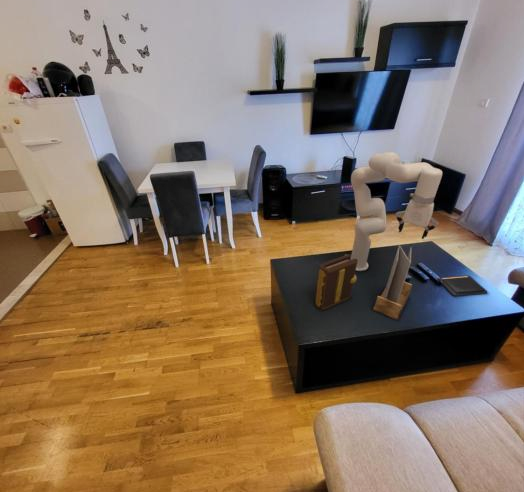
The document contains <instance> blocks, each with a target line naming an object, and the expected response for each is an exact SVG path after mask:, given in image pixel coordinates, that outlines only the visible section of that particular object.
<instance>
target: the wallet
mask: <svg viewBox="0 0 524 492" xmlns="http://www.w3.org/2000/svg"><path fill="white" fill-rule="evenodd" d="M436 279H437V281H438V282H439V283H440V285H442V286H443V287H444V289H445V290H447V292H448V293H449V294H450V295H451V296H453V297H463V296H473V295H474V296H475V295H487V294H488V291H487V290H486V288H484V287H483V286H482V285H481V284H480V283H479V282H477V281H476V280H475V279H474V278H473V277H472V276H470V275H463V276H450V277H437V278H436ZM441 281H442V282H441Z"/></svg>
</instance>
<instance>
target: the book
mask: <svg viewBox="0 0 524 492" xmlns="http://www.w3.org/2000/svg"><path fill="white" fill-rule="evenodd" d="M351 255H352V254H351V253H347V254H346V255H345V254H344V255H342V256H339V257H336V258H334V259H333V258H332V259H331V260H328V261H325V262H322V263H320V264H319V267H318V273H317V274H318V275H317V285H316V292H315V301H314V304H315V306H316V307H317V309H319V310H321V311H322V310H326V309H329V308H331V307H334V306H335V305H338V304H340V303H343V302H345V301H347V300H350V299H351V294H352V289H353V285H354V284H355V283H357V279H358V278H357V275H356V266H357V261H358V260H357V259H352V260H350V259H351Z"/></svg>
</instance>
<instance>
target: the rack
mask: <svg viewBox="0 0 524 492" xmlns="http://www.w3.org/2000/svg"><path fill="white" fill-rule="evenodd" d="M412 287H413V284H412V283H409V282H407V281H405V282H404V285H403V288H402V290H401V293H400V296H399V299H398V302H397V303H395V302H392V301H390V300H388V297H387V298H386V299H385V298H384V295H385V290H386V287H385V288H384V290H383V291H382V293H381V295H377V296H376V300H375V303H374V306H373V307H372V310H373V311H376V312H377V313H380V314H382V315H384V316H387V317H388V318H392V319H393V320H396V321H398V320H399V318H400V315H401V313H402V311H403V309H404V307H405V305H406V303H407V301H408V300H409V297H410V294H411V292H412Z"/></svg>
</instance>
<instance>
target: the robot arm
mask: <svg viewBox="0 0 524 492" xmlns="http://www.w3.org/2000/svg"><path fill="white" fill-rule="evenodd" d="M442 177H443V170H442V169H440V168H437V167H434V166H432V165H431V164H430V163H428V162H424V161H423V162H412V163H405V164H404V163H403V162H402V159H401V157H400V155H398V154H397V153H396V152H393V151H389V152H388V151H387V152H380V153H379V152H378V153H375V154H373V155H371V156H370V158H369V160H368V166H360V167H358V168H355V169H354V170H353V171H352V173H351V176H350V183H351V187H352V190H353V194H354V205H355V211H356V215H357V216H358V217H362V219H359V220H358V221H356V223H354V239H353V243H352V244H353V245H352V250H351V254H350V255H351V259H350V260H352V259H357V260H358V261H357V266H356V271H357V272H365V271H367V270H368V269H369V263H368V258H369V254H370V249H371V245H372V240H371V238H370V237H371V236H373V235H379V234H381V233H384V232H385V231H386V230H387V226H388V224H387V211H386V204H385V201H384V200H383V199H382V198H380V197H373V198H372V194H371V189H370V188H369V186H368V185H367V184H369V183H377V182H382V181H383V180H385V179H386V178H387V179H388V180H390V181H392V182H396V183H400V184H407V183H414V182H417V184H416V187H415V190H414V192H413V193H410V194H409V197H411V199H410V200H409V202H408V203H407V206H406V208H405V210H401V211H397V212H395V217H396V220H397V221H398V224H399V225H398V233H402V231H403V229H404V225H405V223H406V224H409V225H413V226H417V227H421V228H424V230H423V232H422V236H421V239H422V240H424V239H425V238H427V236H428V235H429V232H430V231H432V230H434V229H435V228H437V227H438V226H439V225H440V222H439V221H438V220H437V219H435V218H434V217H433V213H434V207H435V203H434V201H435V198H436V194H437V193H438V192H437V191H438V189H439V185H440V184H441V180H442ZM401 215H403V217H401ZM372 216H373V217H372ZM363 217H368V218H363ZM430 222H431V223H432V224H431V225H430ZM344 255H347V254H344ZM356 271H355V272H356Z"/></svg>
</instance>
